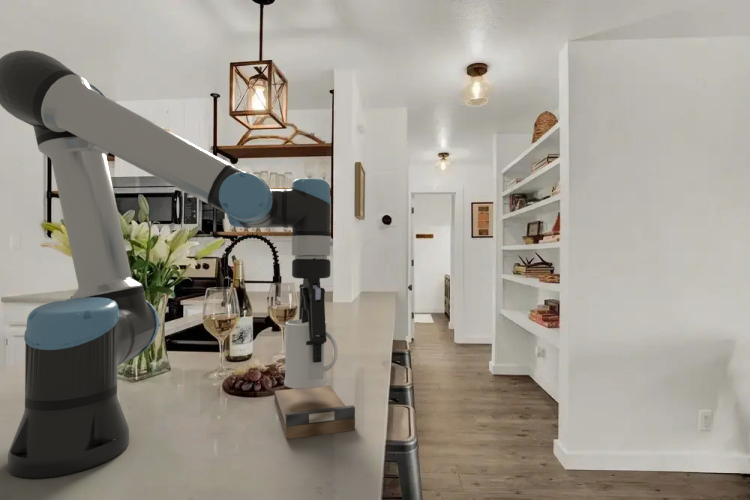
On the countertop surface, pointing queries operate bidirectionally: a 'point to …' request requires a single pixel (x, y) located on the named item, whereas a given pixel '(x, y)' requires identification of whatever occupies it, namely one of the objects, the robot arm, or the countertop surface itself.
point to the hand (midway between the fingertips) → (311, 371)
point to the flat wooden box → (313, 412)
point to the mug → (303, 356)
